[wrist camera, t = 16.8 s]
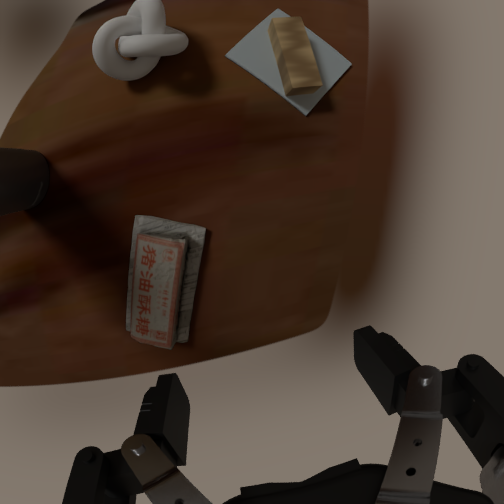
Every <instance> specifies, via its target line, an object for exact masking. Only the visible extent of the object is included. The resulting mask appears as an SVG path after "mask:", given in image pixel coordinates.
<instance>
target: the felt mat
mask: <svg viewBox="0 0 504 504" xmlns="http://www.w3.org/2000/svg"><path fill="white" fill-rule="evenodd" d="M279 17H290V16H289V15H287V14H286V13H284V12H283V11H281V10H279V9H276V10H275V11H274V12H273V13H272V14H270V15H269V16H268V17H267V18H266V19H264V20H263V21H262V22H261V23H260V24H259V25H257V26H256V27H255V28H254V29H253V30H252V31H251V32H249V33H248V34H247V35H246V36H245V37H244V38H243V39H242V40H241V41H240V42H239V43H238V44H236V45H235V46H234V47H233V48H232V49H231V50H230V51H229V52H228V53H227V54H226V55H225V57H226V58H228V59H230V60H231V61H233V62H234V63H236V64H237V65H239V66H240V67H242V68H243V69H244V70H246V71H247V72H249V73H250V74H252V75H253V76H254V77H256V78H257V79H259V80H260V81H261V82H263V83H264V84H266V85H267V86H268V87H270V88H271V89H272V90H274V91H275V92H276V93H277V94H279V95H280V96H281V97H283V98H284V99H285V100H286V101H288V102H289V103H290V104H291V105H293V106H294V107H295V108H296V109H298V110H299V111H300V112H301V113H303V114H304V115H305V116H306V115H307V114H308V113H309V112H310V111H311V109H312V108H313V107H314V106H315V105H316V104H317V103H318V101H319V100H320V99H321V98H322V97H323V96H324V95H325V93H326V92H327V91H328V90H329V89H330V88H331V87H332V86H333V84H334V83H335V82H336V81H337V80H338V79H339V78H340V77H341V76H342V74H343V73H344V72H345V71H346V70H347V69H348V68H349V67H350V66H351V65H352V64H351V63H350V62H349V61H348V60H347V59H346V58H344V57H343V56H342V55H341V54H340V53H338V52H337V51H336V50H335V49H334V48H332V47H331V46H330V45H329V44H327V43H326V42H325V41H324V40H322V39H321V38H320V37H318V36H317V35H316V34H314V33H313V32H312V31H310V30H309V29H308V28H306V27H305V26H304V27H305V30H306V32H307V35H308V38H309V41H310V44H311V48H312V51H313V54H314V57H315V60H316V64H317V67H318V70H319V74H320V77H321V81H322V85H323V86H321V87H320V88H319V89H318V90H317V91H315V92H314V93H312V94H302V95H293V96H285V92H284V88H283V85H282V81H281V77H280V73H279V70H278V66H277V62H276V59H275V55H274V52H273V48H272V45H271V42H270V38H269V35H268V32H267V30H268V28H269V25H270V22H271V19H272V18H279Z"/></svg>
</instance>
